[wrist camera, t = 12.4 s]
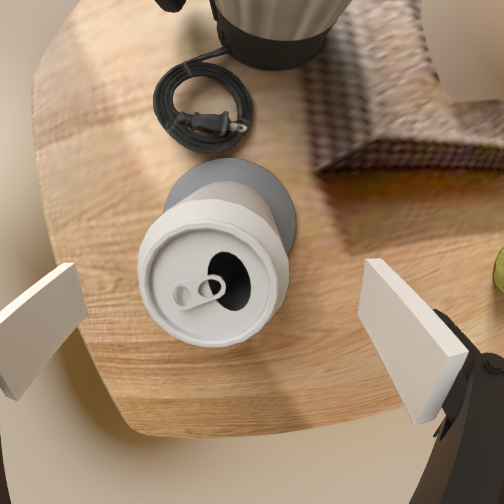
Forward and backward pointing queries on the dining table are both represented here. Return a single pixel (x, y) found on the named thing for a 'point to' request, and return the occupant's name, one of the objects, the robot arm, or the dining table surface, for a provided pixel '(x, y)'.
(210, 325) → the can
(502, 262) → the plant pot
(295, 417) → the dining table surface
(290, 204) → the coaster
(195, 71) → the milk frother
